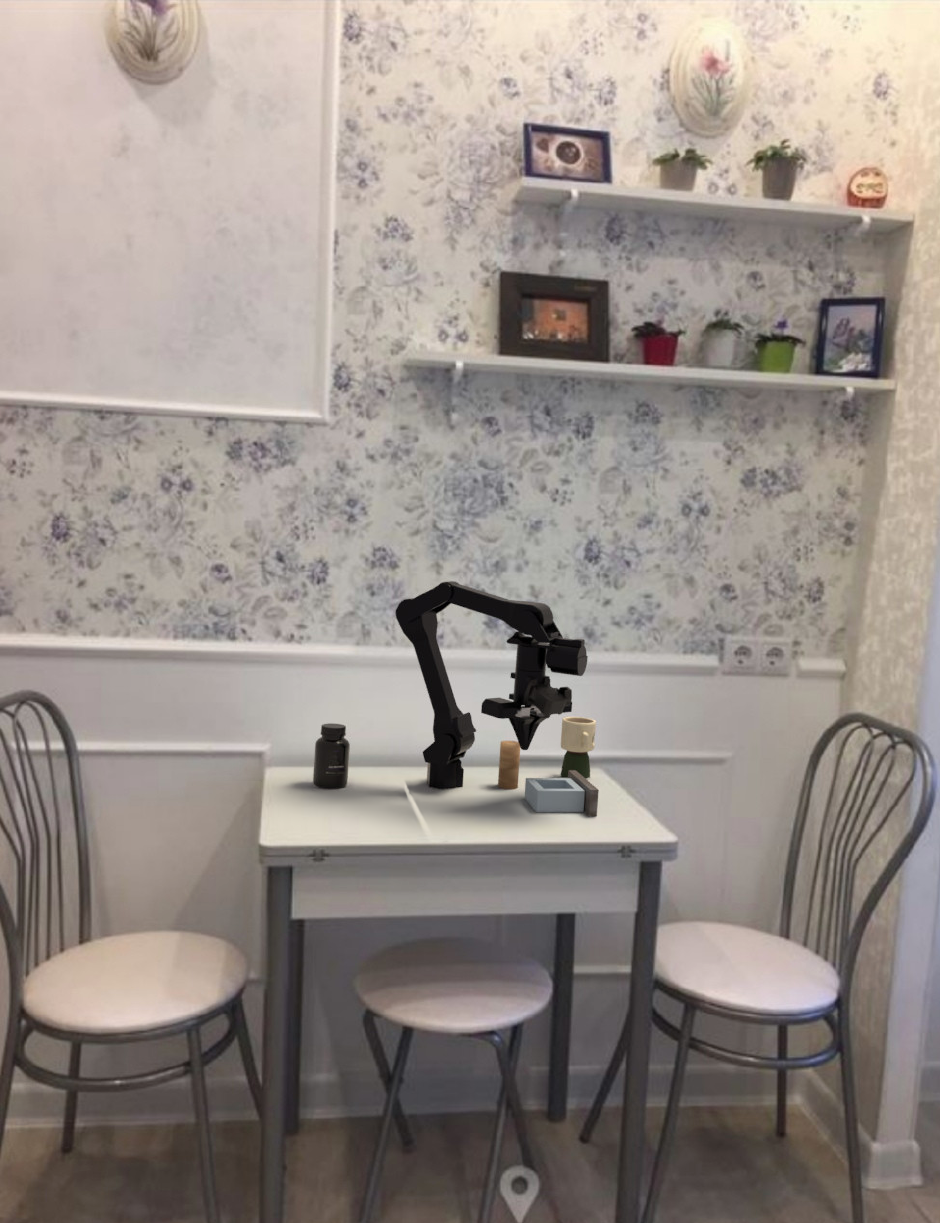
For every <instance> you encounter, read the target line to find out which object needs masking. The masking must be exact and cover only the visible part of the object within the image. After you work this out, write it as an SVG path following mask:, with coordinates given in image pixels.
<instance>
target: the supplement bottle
mask: <svg viewBox="0 0 940 1223" xmlns="http://www.w3.org/2000/svg"><path fill="white" fill-rule="evenodd" d="M346 732H347V730H346V725H345V724H340V723H333V722H332V723H323V724H322V725H321V729H320V735H321V737H319V738H317V740H316V741H315V744H314V758H313V773H312V774H313V775H312V776H313V777H312V778H313V779H312V781H313V785H314V786H315V787H318V788H321V789H324V790H325V789H327V790H334V789H335V790H338V789H342V788H345V787H346V786H347V785H348V781H349V780H348V779H349V762H350V749H351V748H350V747H351V745H350V741H349V740H348V739H346V738H345V737H346V735H347V733H346Z"/></svg>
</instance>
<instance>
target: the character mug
mask: <svg viewBox="0 0 940 1223" xmlns="http://www.w3.org/2000/svg"><path fill="white" fill-rule="evenodd" d="M561 721H562V722H561V734H560V735H561V736H560V748H561V749H562V750H565V751H566V752H565V754H564V756H563V761H562V766H561V770H560V771H561V772H560V778H568V770H576V771H577V772H578V773H579V774H581V775H582V776H583V777H584V778H585V779H586V780H587V779H588V778H589V779H590V778H591V766H590V755H589V752H592V751H593V750H594V749H595V735H596V732H597V731H596V727H597V726H596V725H597V721H596V720H595V719H592V718H588V717H582V716H567V717H563V718H562V720H561Z"/></svg>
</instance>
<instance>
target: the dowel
mask: <svg viewBox="0 0 940 1223" xmlns="http://www.w3.org/2000/svg"><path fill="white" fill-rule="evenodd" d="M520 757H521V747H520V745H519V742H518V741H515V740H502V741H500V745H499V764H498V778H497V779H498V780H497V788H499V789H504V790H516V789H518V788H519V773H520Z"/></svg>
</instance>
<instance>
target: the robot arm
mask: <svg viewBox="0 0 940 1223" xmlns="http://www.w3.org/2000/svg"><path fill="white" fill-rule="evenodd" d="M450 605H454V606H459V607H461V608H464V609H467V610H471V611H473V612H477V613H480V614H483V615H485V616H489V617H492V618H495V619H498V620H500V621H501V622H503V623H505V624H506V625H507V626H509V627H510V628H512V629H513V630H516V631H515V632H514V633H513V635H512V636H510V637H509V638H508V639H506V643H507V644H510V645H516V646H517V647H516V656H515V657H516V658H515V659H516V660H515V669H514V670H515V671H513V672H512V671H511V672H510V679H514V685H513V692H512V693H509V695H508V699H505V698H502V697H492V698H490V697H489V698H485V699H484V700H483V701H482V702H481V709H480V710H481V711H480V712H481V714H482V715H483V714H484V715H487V716H490V717H493V718H496V719H501V720H504V719H505V720H506V719H508V721H509V722H510V724H511V726H512V729H513V731H514V734H515V736H516V739H517V742H519V745H520V750H523V751H527V750H528V749H529V748H530V745H531V744H532V741H533V738H534V736H535V735H536V732H537V730H538V728H539V726H540V725H541V723H543V722H544V721H545V720H547V719H549V718H550V717H551V716H552V715H559V716H560V715H562V714H563V713H564V714H565V713H571V712H572V710H573V708H572V707H573V701H572V699H573V698H572V697H573V693H572V689H571V688H570V687H569V686H560V687H559V688H558V687H552V686H551V678H550V676H549V675H546V669H550V671H551V673H556V674H562V675H570V676H577V677H582V676H583V675H584V673H585V672H586V669H587V665H588V657H589V656H588V655H587V648H586V646H585V642H586V641H585V639H582V638H573V639H572V638H566V637H563V634H562V633H561V631H560V629H559V628H558V626H557V625H556V623H555V621H554V615H553V612H552V610H551V607H550V606H549V605H548V604H546V603H544V602H543V603H542V602H535V601H527V600H526V601H525V600H514V599H508V598H505V597H501V596H499V595H496V594H492V593H488V592H485V591H482V590H480V589H476V588H473V587H470V586H466V585H463V584H460V583H458V582H457V581H453V580H452V581H451V580H450V581H449V580H448V581H443V582H440V583H439V584H438V585H436V586H434V587H433V588H431V589H429V590H427V591H425V592H424V593H421V594H419V595H417V596H416V597H411V598H406V599H405V598H404V599H403V600H401V601H400V602H399V603H398V605H397V607H396V609H395V611H394V612H395V619H396V620H397V623H398V625H399V627H400V629H401V631H402V633H403V634H404V635H405V637H406V638H407V640H409V642H411V644H412V646H413V649H414V651H415V655H416V658H417V661H418V666H419V668H420V671H421V675H422V677H423V681H424V684H425V687H426V692H427V694H428V697H429V700H430V704H431V706H432V710H433V727H432V734H433V740H434V741H433V742H432V743H431V744H430V745H429V746H427V747H426V748H425V749H424V750H423V751H422V755H423V760H424V762H425V763H426V764H427V772H426V785H427V786H428V788H433V789H439V790H453V789H456V788H463V787H464V770H465V769H464V767H463V766H462V760H461V759H463V758H464V757H465V755H466V753H467V751H468V750H470V749H471V748H472V747H473V745H474V742H475V741H476V737H475V733H476V732H477V729H476V727H475V726H474V724H473V720H472V719H473V718H472V715H471V712H470V711H469V712H466V713H463V711H461V709H460V708H459V707H458V704H457V702H456V699H455V695H454V692H453V689H452V685H451V682H450V680H449V679H450V678H449V676H448V672H447V669H446V665H445V663H444V659H443V656H442V652H441V650H440V647H439V644H438V639H437V635H438V634H437V633H438V625H439V624H438V617H437V614H439V613H440V612H443V611H444V610H445V609H446V608H447V607H449V606H450Z"/></svg>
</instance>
